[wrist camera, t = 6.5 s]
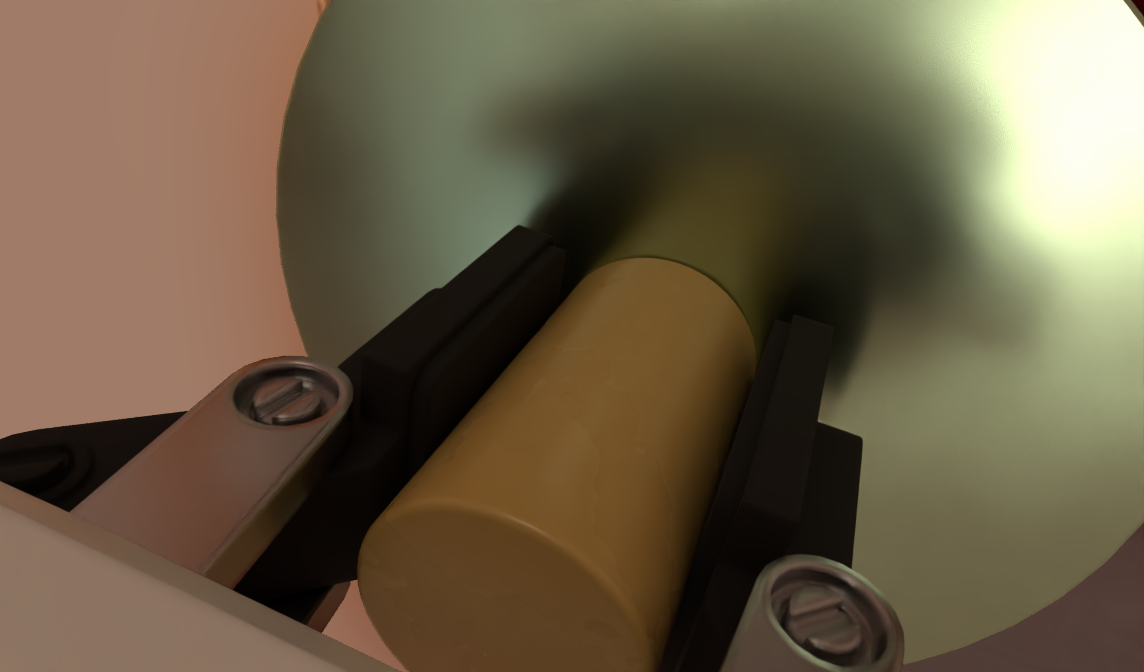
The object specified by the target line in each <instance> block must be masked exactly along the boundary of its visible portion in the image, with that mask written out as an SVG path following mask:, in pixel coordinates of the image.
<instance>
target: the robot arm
mask: <svg viewBox="0 0 1144 672" xmlns="http://www.w3.org/2000/svg"><path fill="white" fill-rule="evenodd" d="M565 260H566V252H565V250H563V249H560V248H557V247H556V238H555V236H552V235H549V234H546V233H543V232H540V231H537V230H534V229H531V228H528V227H524V226H521V225H517V226H515V227H514V228H513V229H512V230H510V231H509V232H508V233H507V234H506V235H505V236H503V237H502V238H501V239H500V240H499V241H497V242H496V243H495V244H494V245H493V246H491V247H490V248H489V249H488V250H487V251H485V252H484V253H483V254H482V255H481V256H479V257H478V258H477V259H476V260H475V261H473V262H472V263H471V264H470V265H469V266H467V267H466V268H465V269H464V270H463V271H461V272H460V273H459V274H458V275H457V276H455V277H454V278H453V279H452V280H451V281H449V282H448V283H447V284H446V285H445V286H443V287H442V288H434V289H432V290H431V291H429V292H427V293H426V294H425V295H424V296H423V297H421V298H420V299H419V300H418V301H417V302H415V303H414V304H413V305H412V306H410V307H409V308H408V309H407V310H406V311H404V312H403V313H402V314H401V315H399V316H398V317H397V318H396V319H395V320H393V321H392V322H391V323H390V324H388V325H387V326H386V327H385V328H384V329H382V330H381V331H380V332H379V333H377V334H376V335H375V336H374V337H373V338H371V339H370V340H369V341H368V342H366V343H365V344H364V345H363V346H362V347H360V348H359V349H358V350H357V351H355V352H354V353H353V354H352V355H351V356H349V357H348V358H347V359H346V360H344V361H343V362H342V363H341V364H340V365H338V366H337V367H336V366H334V365H332V364H329V363H327V362H325V361H323V360H319V359H314V358H309V357H304V356H280V357H274V358H268V359H263V360H260V361H257V362H254V363H251V364H248V365H246V366H244V367H242V368H241V369H239V370H238V371H236V372H234V373H233V374H231V375H230V376H229V377H228V378H227V379H225V380H224V381H223V382H222V383H221V384H219V385H218V386H217V387H216V388H215V389H214V390H212V391H211V392H210V393H209V394H208V395H207V396H206V397H204V398H203V399H202V400H201V401H199V402H198V403H197V404H196V405H195V406H194V407H192V408H191V409H190V410H189V411H184V412H175V413H167V414H160V415H152V416H143V417H135V418H127V419H119V420H111V421H102V422H94V423H86V424H78V425H70V426H62V427H54V428H46V429H38V430H33V431H28V432H23V433H18V434H13V435H10V436H8V437H5V438H2V439H0V672H401V671H399V670H397V669H395V668H393V667H391V666H388V665H386V664H384V663H382V662H380V661H378V660H376V659H374V658H372V657H370V656H368V655H366V654H364V653H362V652H359V651H357V650H355V649H353V648H351V647H349V646H347V645H345V644H343V643H341V642H339V641H337V640H335V639H332V638H330V637H328V636H326V635H324V634H322V632H323V630H324V629H325V627H326V626H327V624H328V622H329V621H330V620H331V618H332V616H333V615H334V613H335V612H336V610H337V609H338V607H339V606H340V604H341V603H342V601H343V600H344V598H345V596H346V594H347V591H348V589H349V587H350V581H353V580H357V579H358V578H357V565H358V556H359V552H360V549H361V545H362V542H363V539H364V537H365V535H366V533H367V531H368V530H369V528H370V526H371V525H372V524H373V523H374V522H375V520H376V519H377V518H378V517H379V516H380V515H381V513H382V512H383V511H384V510H385V509H386V508H387V506H388V505H389V504H390V503H391V502H392V501H393V499H394V498H395V497H396V496H397V495H398V494H399V492H400V491H401V490H402V489H403V488H404V487H405V485H406V484H407V483H408V482H409V481H410V480H411V479H412V477H413V476H414V475H415V474H416V473H417V472H418V470H419V469H420V468H421V467H422V466H423V465H424V463H425V462H426V461H427V460H428V459H429V458H430V456H431V455H432V454H433V453H434V452H435V451H436V449H437V448H438V447H439V446H440V445H441V444H442V442H443V441H444V440H445V439H446V438H447V437H448V435H449V434H450V433H451V432H452V431H453V430H454V428H455V427H456V426H457V425H458V424H459V423H460V421H461V420H462V419H463V418H464V417H465V416H466V414H467V413H468V412H469V411H470V410H471V409H472V407H473V406H474V405H475V404H476V403H477V402H478V400H479V399H480V398H481V397H482V396H483V395H484V393H485V392H486V391H487V390H488V389H489V388H490V386H491V385H492V384H493V383H494V382H495V381H496V379H497V378H498V377H499V376H500V375H501V374H502V372H503V371H504V370H505V369H506V368H507V367H508V365H509V364H510V363H511V362H512V361H513V360H514V358H515V357H516V356H517V355H518V354H519V353H520V351H521V350H522V349H523V348H524V347H525V346H526V344H527V343H528V342H529V341H530V340H531V339H532V338H533V336H534V335H535V334H536V333H537V332H538V331H539V329H540V328H541V327H542V326H543V325H544V324H545V322H546V321H547V320H548V319H549V318H550V317H551V315H552V314H553V313H554V312H555V311H556V310H557V304H558V299H559V293H560V288H561V282H562V277H563V271H564V266H565ZM833 333H834V327H832V326H829V325H826V324H823V323H820V322H817V321H814V320H810V319H807V318H804V317H801V316H798V315H795V314H794V316H793V318H792V321H791V323H790V324H789V323H786V322H783V321H780V320H777V319H775V322H774V324H773V327H772V330H771V332H770V335H769V338H768V341H767V343H766V346H765V349H764V352H763V354H762V357H761V360H760V362H759V365H758V368H757V371H756V373H755V376H754V379H753V382H752V384H751V387H750V390H749V393H748V396H747V399H746V402H745V405H744V408H743V411H742V414H741V417H740V420H739V423H738V426H737V429H736V432H735V435H734V438H733V441H732V444H731V447H730V451H729V454H728V457H727V460H726V463H725V466H724V469H723V472H722V475H721V478H720V481H719V484H718V487H717V490H716V493H715V496H714V499H713V502H712V505H711V508H710V511H709V514H708V517H707V520H706V523H705V526H704V529H703V532H702V535H701V538H700V541H699V544H698V547H697V550H696V553H695V557H694V560H693V563H692V566H691V569H690V572H689V575H688V578H687V581H686V584H685V591H684V595H683V598H682V602H681V605H680V608H679V611H678V615H677V618H676V621H675V624H674V627H673V630H672V633H671V636H670V639H669V642H668V645H667V648H666V651H665V654H664V658H663V661H662V664H661V667H660V670H659V672H902V667H903V660H904V653H905V644H904V631H903V629H902V626H901V624H900V621H899V619H898V616H897V614H896V612H895V610H894V609H893V607H892V606H891V605H890V603H889V602H888V601H887V599H886V598H885V597H884V595H883V594H882V593H881V592H880V591H879V590H878V589H877V588H876V587H875V586H873V585H872V584H871V583H870V582H869V581H868V580H867V579H865V578H864V577H863V576H862V575H860V574H858V573H857V572H855V571H853V570H852V561H853V550H854V539H855V528H856V517H857V506H858V495H859V483H860V472H861V461H862V450H863V439H862V438H861V437H860V436H858V435H855V434H852V433H849V432H846V431H844V430H841V429H838V428H835V427H832V426H829V425H827V424H824V423H821V422H818V416H819V410H820V405H821V399H822V394H823V388H824V383H825V377H826V371H827V366H828V360H829V355H830V349H831V344H832V338H833Z"/></svg>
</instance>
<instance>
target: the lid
mask: <svg viewBox="0 0 1144 672" xmlns="http://www.w3.org/2000/svg"><path fill="white" fill-rule="evenodd" d="M276 188H277V189H276V219H277V228H278V238H279V247H280V257H281V265H282V269H283V274H284V278H285V282H286V287H287V292H288V296H289V301H290V305H291V309H292V312H293V315H294V318H295V321H296V324H297V327H298V330H299V333H300V336H301V339H302V342H303V345H304V348H305V351H306V353H307V356H308V357H309V358H314V359H319V360H323V361H325V362H327V363H329V364H332V365H334V366H336V367H337V366H338V365H340V364H341V363H342V362H343V361H344V360H346V359H347V358H348V357H349V356H351V355H352V354H353V353H354V352H355V351H357V350H358V349H359V348H360V347H362V346H363V345H364V344H365V343H366V342H368V341H369V340H370V339H371V338H373V337H374V336H375V335H376V334H377V333H379V332H380V331H381V330H382V329H384V328H385V327H386V326H387V325H388V324H390V323H391V322H392V321H393V320H395V319H396V318H397V317H398V316H399V315H401V314H402V313H403V312H404V311H406V310H407V309H408V308H409V307H410V306H412V305H413V304H414V303H415V302H417V301H418V300H419V299H420V298H421V297H423V296H424V295H425V294H426V293H427V292H429V291H431V290H432V289H434V288H442V287H443V286H445V285H446V284H447V283H448V282H449V281H451V280H452V279H453V278H454V277H455V276H457V275H458V274H459V273H460V272H461V271H463V270H464V269H465V268H466V267H467V266H469V265H470V264H471V263H472V262H473V261H475V260H476V259H477V258H478V257H479V256H481V255H482V254H483V253H484V252H485V251H487V250H488V249H489V248H490V247H491V246H493V245H494V244H495V243H496V242H497V241H499V240H500V239H501V238H502V237H503V236H505V235H506V234H507V233H508V232H509V231H510V230H512V229H513V228H514V227H515V226H517V225H521V226H524V227H528V228H531V229H534V230H537V231H540V232H543V233H546V234H549V235H552V236H555V238H556V247H557V248H560V249H563V250H565V252H566V260H565V266H564V271H563V277H562V282H561V288H560V293H559V299H558V304H557V310H556V311H555V312H554V313H553V314H552V315H551V317H550V318H549V319H548V320H547V321H546V322H545V324H544V325H543V326H542V327H541V328H540V329H539V331H538V332H537V333H536V334H535V335H534V336H533V338H532V339H531V340H530V341H529V342H528V343H527V344H526V346H525V347H524V348H523V349H522V350H521V351H520V353H519V354H518V355H517V356H516V357H515V358H514V360H513V361H512V362H511V363H510V364H509V365H508V367H507V368H506V369H505V370H504V371H503V372H502V374H501V375H500V376H499V377H498V378H497V379H496V381H495V382H494V383H493V384H492V385H491V386H490V388H489V389H488V390H487V391H486V392H485V393H484V395H483V396H482V397H481V398H480V399H479V400H478V402H477V403H476V404H475V405H474V406H473V407H472V409H471V410H470V411H469V412H468V413H467V414H466V416H465V417H464V418H463V419H462V420H461V421H460V423H459V424H458V425H457V426H456V427H455V428H454V430H453V431H452V432H451V433H450V434H449V435H448V437H447V438H446V439H445V440H444V441H443V442H442V444H441V445H440V446H439V447H438V448H437V449H436V451H435V452H434V453H433V454H432V455H431V456H430V458H429V459H428V460H427V461H426V462H425V463H424V465H423V466H422V467H421V468H420V469H419V470H418V472H417V473H416V474H415V475H414V476H413V477H412V479H411V480H410V481H409V482H408V483H407V484H406V485H405V487H404V488H403V489H402V490H401V491H400V492H399V494H398V495H397V496H396V497H395V498H394V499H393V501H392V502H391V503H390V504H389V505H388V506H387V508H386V509H385V510H384V511H383V512H382V513H381V515H380V516H379V517H378V518H377V519H376V520H375V522H374V523H373V524H372V525H371V526H370V528H369V530H368V531H367V533H366V535H365V537H364V539H363V542H362V545H361V549H360V552H359V556H358V565H357V578H358V586H359V591H360V596H361V599H362V602H363V605H364V607H365V610H366V613H367V615H368V617H369V619H370V621H371V623H372V625H373V627H374V628H375V630H376V631H377V633H378V635H379V637H380V638H381V640H382V641H383V642H384V644H385V645H386V646H387V648H388V649H389V650H390V652H391V653H392V654H393V655H394V657H395V658H396V659H397V660H398V661H399V662H400V663H401V664H402V666H403V667H404V668H405V669H406V670H407V671H408V672H659V670H660V667H661V664H662V661H663V658H664V654H665V651H666V648H667V645H668V642H669V639H670V636H671V633H672V630H673V627H674V624H675V621H676V618H677V615H678V611H679V608H680V605H681V602H682V598H683V595H684V591H685V584H686V581H687V578H688V575H689V572H690V569H691V566H692V563H693V560H694V557H695V553H696V550H697V547H698V544H699V541H700V538H701V535H702V532H703V529H704V526H705V523H706V520H707V517H708V514H709V511H710V508H711V505H712V502H713V499H714V496H715V493H716V490H717V487H718V484H719V481H720V478H721V475H722V472H723V469H724V466H725V463H726V460H727V457H728V454H729V451H730V447H731V444H732V441H733V438H734V435H735V432H736V429H737V426H738V423H739V420H740V417H741V414H742V411H743V408H744V405H745V402H746V399H747V396H748V393H749V390H750V387H751V384H752V382H753V379H754V376H755V373H756V371H757V368H758V365H759V362H760V360H761V357H762V354H763V352H764V349H765V346H766V343H767V341H768V338H769V335H770V332H771V330H772V327H773V324H774V322H775V319H777V320H780V321H783V322H786V323H789V324H790V323H791V321H792V318H793V316H794V314H795V315H798V316H801V317H804V318H807V319H810V320H814V321H817V322H820V323H823V324H826V325H829V326H832V327H834V333H833V338H832V344H831V349H830V355H829V360H828V366H827V371H826V377H825V383H824V388H823V394H822V399H821V405H820V410H819V416H818V422H821V423H824V424H827V425H829V426H832V427H835V428H838V429H841V430H844V431H846V432H849V433H852V434H855V435H858V436H860V437H861V438H862V439H863V450H862V461H861V472H860V483H859V495H858V506H857V517H856V528H855V539H854V550H853V561H852V570H853V571H855V572H857V573H858V574H860V575H862V576H863V577H864V578H865V579H867V580H868V581H869V582H870V583H871V584H872V585H873V586H875V587H876V588H877V589H878V590H879V591H880V592H881V593H882V594H883V595H884V597H885V598H886V599H887V601H888V602H889V603H890V605H891V606H892V607H893V609H894V610H895V612H896V614H897V616H898V619H899V621H900V624H901V626H902V629H903V631H904V644H905V653H904V660H903V664H909V663H913V662H916V661H920V660H923V659H927V658H930V657H933V656H937V655H940V654H944V653H947V652H950V651H954V650H957V649H961V648H963V647H966V646H968V645H970V644H973V643H975V642H977V641H980V640H982V639H984V638H987V637H989V636H991V635H994V634H996V633H998V632H1001V631H1003V630H1005V629H1008V628H1010V627H1012V626H1014V625H1016V624H1017V623H1019V622H1021V621H1022V620H1024V619H1026V618H1028V617H1029V616H1031V615H1033V614H1034V613H1036V612H1038V611H1040V610H1041V609H1043V608H1045V607H1046V606H1048V605H1050V604H1051V603H1053V602H1055V601H1057V600H1058V599H1060V598H1061V597H1063V596H1064V595H1065V594H1066V593H1068V592H1069V591H1070V590H1071V589H1073V588H1074V587H1075V586H1077V585H1078V584H1079V583H1080V582H1082V581H1083V580H1084V579H1085V578H1087V577H1088V576H1089V575H1091V574H1092V573H1093V572H1094V571H1096V570H1097V569H1098V568H1099V567H1101V566H1102V565H1103V564H1105V563H1106V562H1107V561H1108V560H1109V558H1110V557H1111V556H1112V555H1113V554H1114V553H1115V552H1116V551H1117V550H1118V549H1119V548H1120V547H1121V546H1122V545H1123V544H1124V543H1125V542H1126V541H1127V539H1128V538H1129V537H1130V536H1131V535H1132V534H1133V533H1134V532H1135V531H1136V530H1137V529H1138V528H1139V527H1140V526H1141V525H1142V524H1143V523H1144V15H1143V13H1142V12H1141V11H1140V9H1139V8H1138V7H1137V5H1136V4H1135V3H1134V1H1133V0H330V1H329V3H328V4H327V6H326V8H325V9H324V11H323V12H322V14H321V16H320V17H319V19H318V22H317V24H316V26H315V29H314V31H313V33H312V36H311V38H310V40H309V42H308V45H307V47H306V49H305V52H304V54H303V56H302V58H301V61H300V63H299V66H298V68H297V71H296V75H295V79H294V82H293V86H292V90H291V93H290V97H289V100H288V104H287V107H286V111H285V115H284V119H283V126H282V133H281V140H280V148H279V155H278V162H277V186H276Z"/></svg>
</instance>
